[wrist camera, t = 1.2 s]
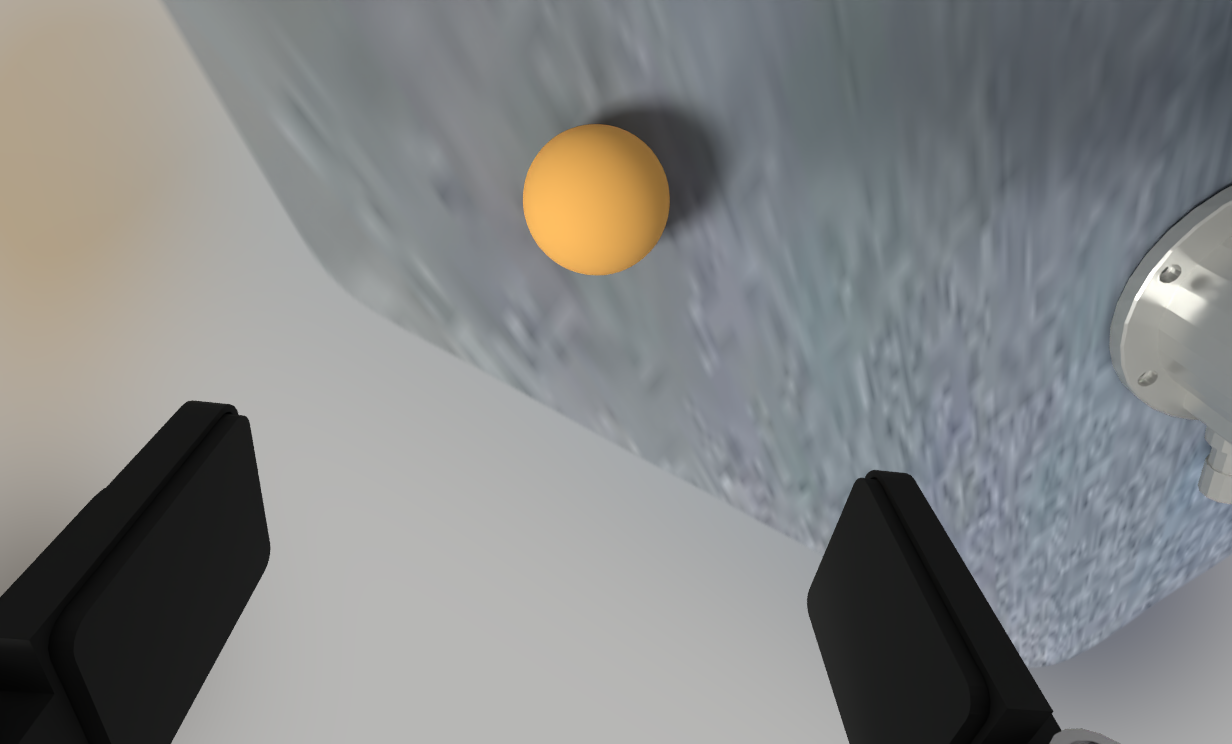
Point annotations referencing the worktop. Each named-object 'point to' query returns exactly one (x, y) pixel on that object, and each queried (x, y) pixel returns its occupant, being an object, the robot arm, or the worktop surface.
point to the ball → (596, 199)
